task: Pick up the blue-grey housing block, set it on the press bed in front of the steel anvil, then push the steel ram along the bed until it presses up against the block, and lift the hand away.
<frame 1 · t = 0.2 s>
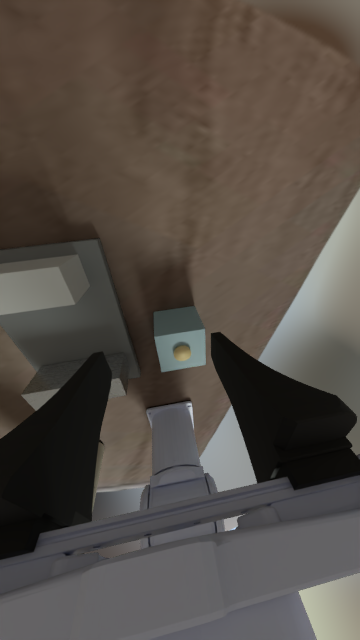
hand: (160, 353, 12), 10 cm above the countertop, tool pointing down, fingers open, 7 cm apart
housing: (176, 325, 23), on the countertop
press bed: (73, 327, 21), on the countertop
ram: (82, 380, 21), point 3 cm above the countertop, slide at 0.0 cm
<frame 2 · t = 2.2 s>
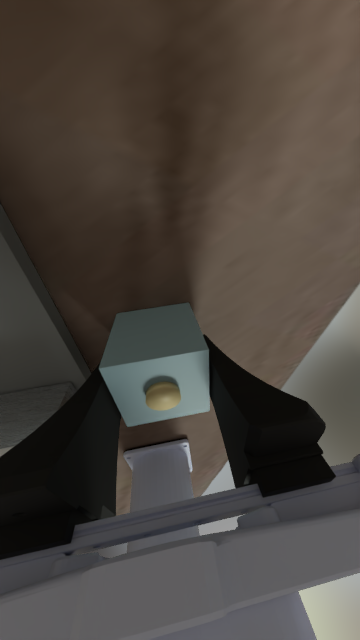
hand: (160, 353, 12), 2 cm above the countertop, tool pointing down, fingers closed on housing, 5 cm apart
housing: (159, 336, 14), on the countertop, touching gripper
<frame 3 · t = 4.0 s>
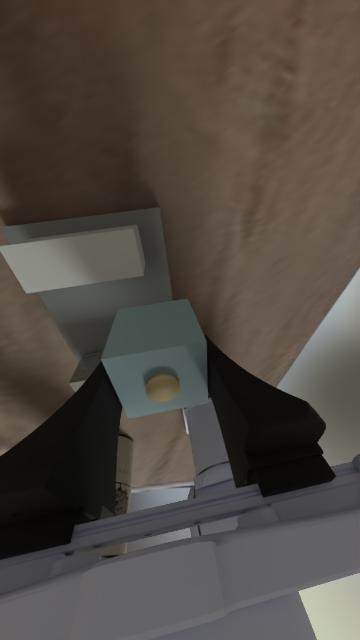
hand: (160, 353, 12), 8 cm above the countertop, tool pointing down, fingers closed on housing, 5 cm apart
housing: (159, 332, 14), point 6 cm above the countertop, touching gripper
press bed: (118, 312, 19), on the countertop
ram: (128, 368, 19), point 3 cm above the countertop, slide at 0.0 cm
travel mug: (112, 443, 33), on the countertop
when the fingers open (4 cm above the countertop, at t = 6.3 s): housing stays where it is, resting on press bed.
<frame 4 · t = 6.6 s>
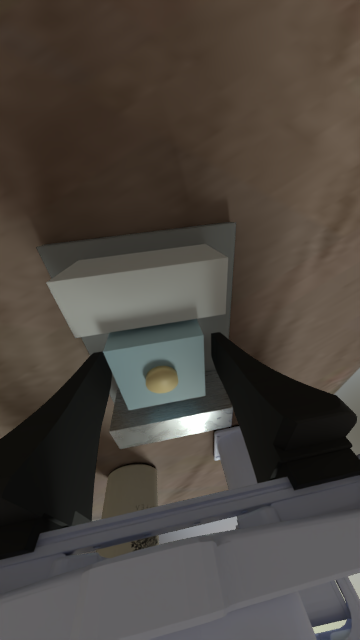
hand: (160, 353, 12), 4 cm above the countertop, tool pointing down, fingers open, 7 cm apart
housing: (158, 328, 14), point 1 cm above the countertop, touching press bed
press bed: (161, 340, 16), on the countertop
ram: (172, 406, 17), point 3 cm above the countertop, slide at 0.0 cm
travel mug: (133, 471, 30), on the countertop
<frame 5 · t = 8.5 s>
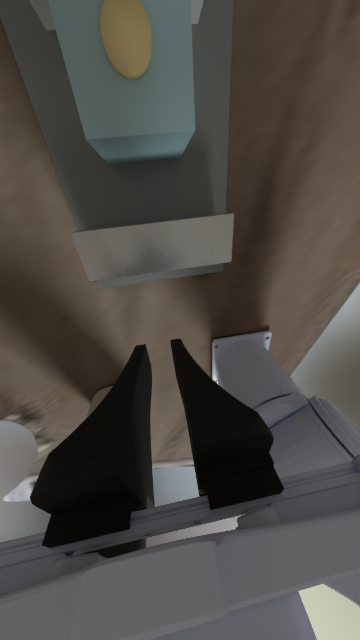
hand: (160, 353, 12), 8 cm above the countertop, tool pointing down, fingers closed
housing: (136, 107, 11), point 1 cm above the countertop, touching press bed
press bed: (144, 156, 13), on the countertop
ram: (157, 244, 13), point 3 cm above the countertop, slide at 0.0 cm
travel mug: (121, 399, 27), on the countertop
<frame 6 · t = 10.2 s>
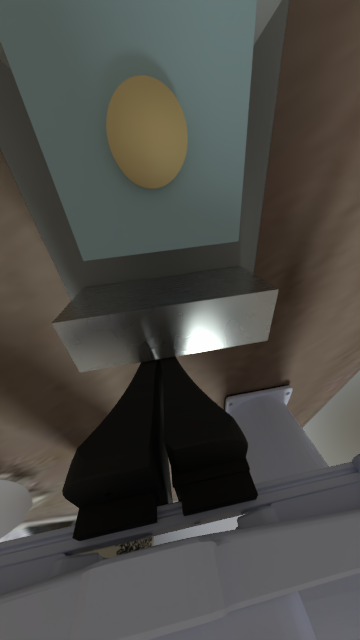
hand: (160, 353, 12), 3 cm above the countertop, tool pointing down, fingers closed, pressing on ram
housing: (149, 177, 9), point 1 cm above the countertop, touching press bed
press bed: (156, 224, 11), on the countertop
ram: (170, 313, 10), point 3 cm above the countertop, slide at 1.2 cm, touching gripper
travel mug: (123, 452, 24), on the countertop
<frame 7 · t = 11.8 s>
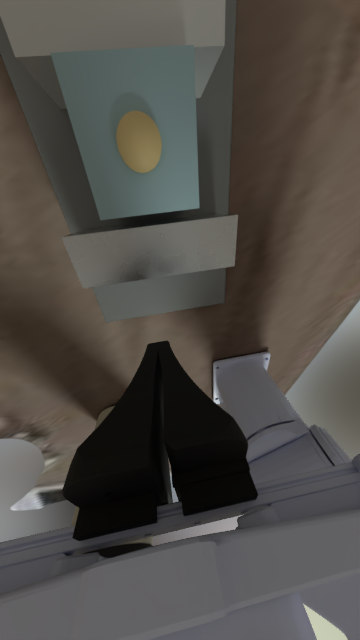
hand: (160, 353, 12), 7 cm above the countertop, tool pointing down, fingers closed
housing: (143, 168, 12), point 1 cm above the countertop, touching press bed
press bed: (149, 206, 14), on the countertop
ram: (156, 247, 12), point 3 cm above the countertop, slide at 3.0 cm
travel mug: (125, 416, 28), on the countertop
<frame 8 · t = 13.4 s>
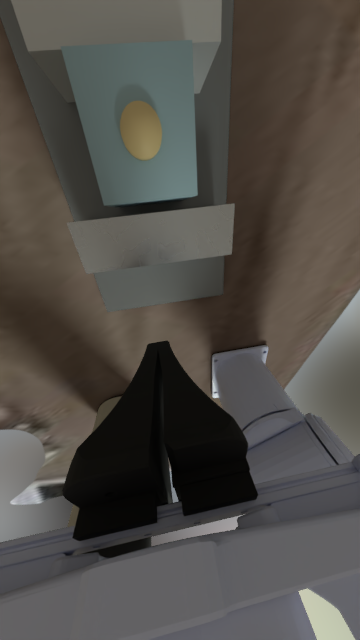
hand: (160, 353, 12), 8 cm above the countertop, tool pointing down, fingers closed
housing: (144, 160, 12), point 1 cm above the countertop, touching press bed
press bed: (150, 198, 14), on the countertop
ram: (156, 236, 13), point 3 cm above the countertop, slide at 3.0 cm
travel mug: (125, 408, 28), on the countertop
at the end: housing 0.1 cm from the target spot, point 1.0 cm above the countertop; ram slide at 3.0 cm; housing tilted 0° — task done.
